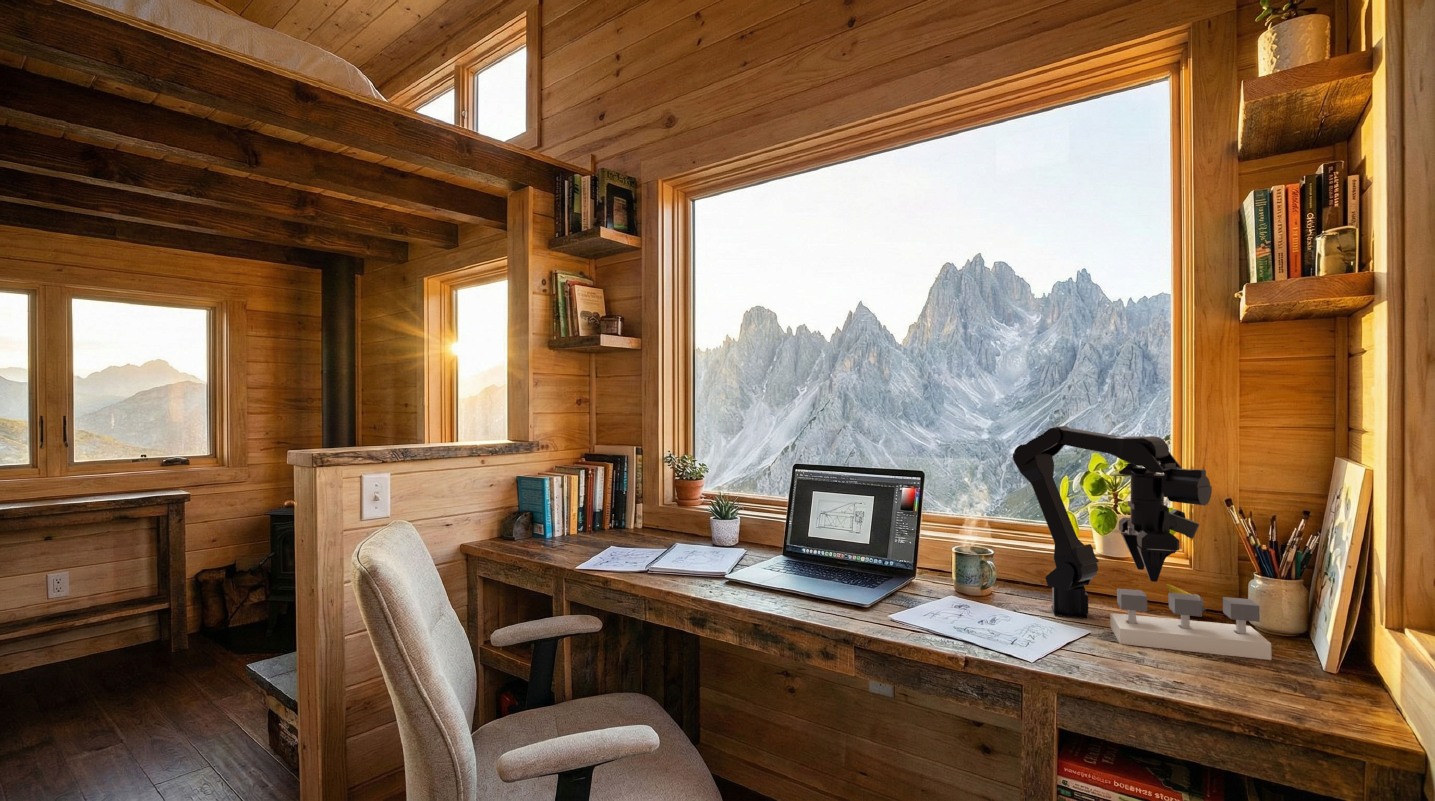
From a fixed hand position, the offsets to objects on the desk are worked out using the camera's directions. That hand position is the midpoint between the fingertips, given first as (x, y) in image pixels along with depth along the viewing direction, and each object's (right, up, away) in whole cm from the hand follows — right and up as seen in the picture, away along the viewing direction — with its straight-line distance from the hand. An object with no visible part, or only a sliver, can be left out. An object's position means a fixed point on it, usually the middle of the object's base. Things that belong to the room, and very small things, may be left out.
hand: (1146, 575), depth 134 cm
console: (+5, -12, -4) cm, 14 cm away
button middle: (+5, -10, -4) cm, 12 cm away
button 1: (-4, -10, -1) cm, 10 cm away
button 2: (+13, -10, -8) cm, 18 cm away
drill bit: (+16, -12, +12) cm, 24 cm away
